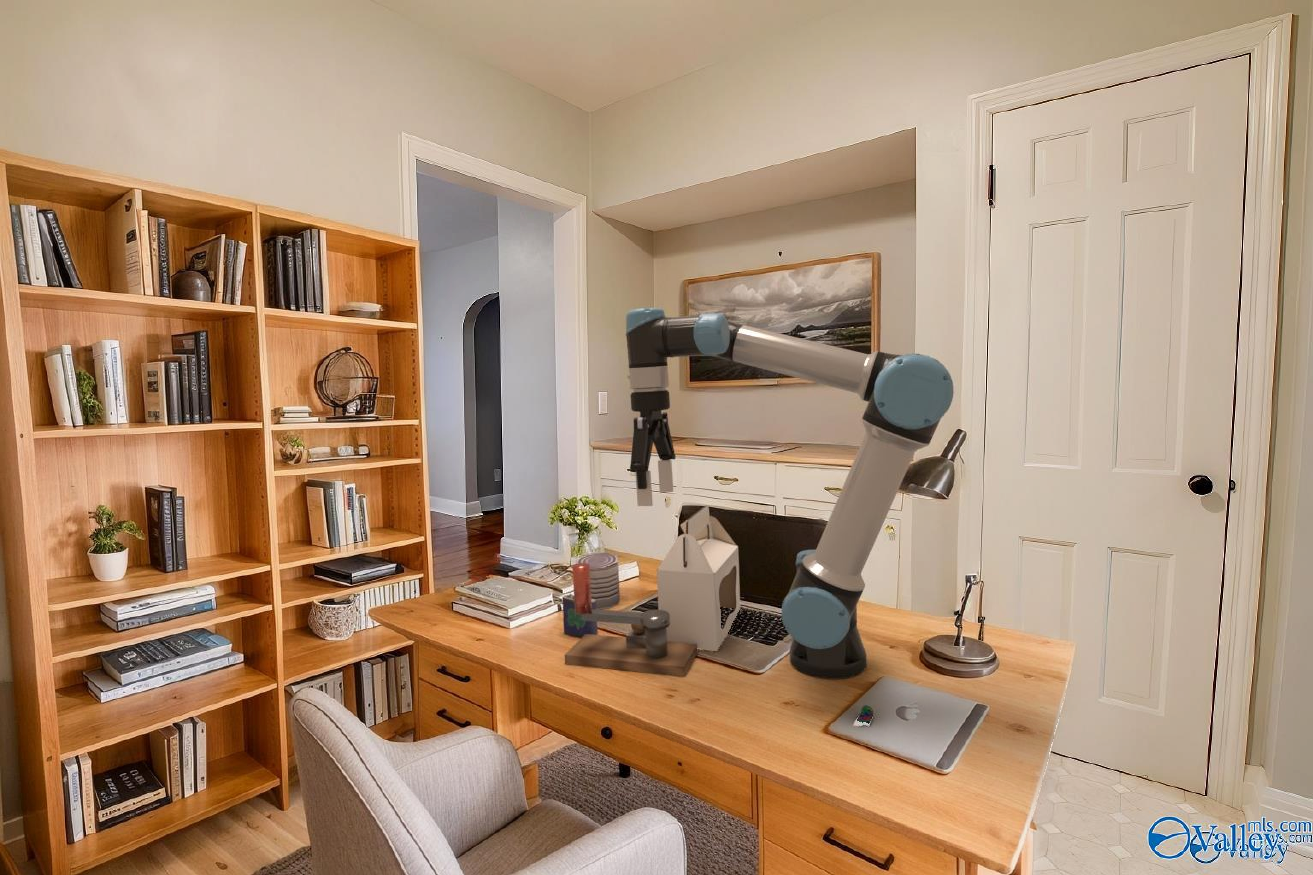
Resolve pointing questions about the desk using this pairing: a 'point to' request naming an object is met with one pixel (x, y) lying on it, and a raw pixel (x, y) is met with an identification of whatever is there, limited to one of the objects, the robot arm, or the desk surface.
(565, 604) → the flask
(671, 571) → the gable box
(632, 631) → the wooden base plate
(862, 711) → the green rounded lump
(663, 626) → the lever
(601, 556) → the can
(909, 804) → the desk surface
